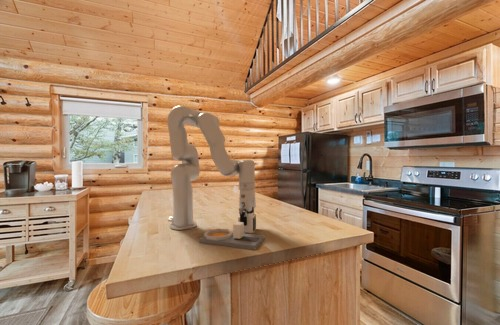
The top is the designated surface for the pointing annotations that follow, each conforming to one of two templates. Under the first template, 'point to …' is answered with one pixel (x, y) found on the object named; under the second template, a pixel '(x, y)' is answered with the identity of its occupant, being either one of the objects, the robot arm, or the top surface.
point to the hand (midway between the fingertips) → (247, 222)
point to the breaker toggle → (238, 230)
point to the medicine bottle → (250, 221)
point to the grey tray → (231, 239)
